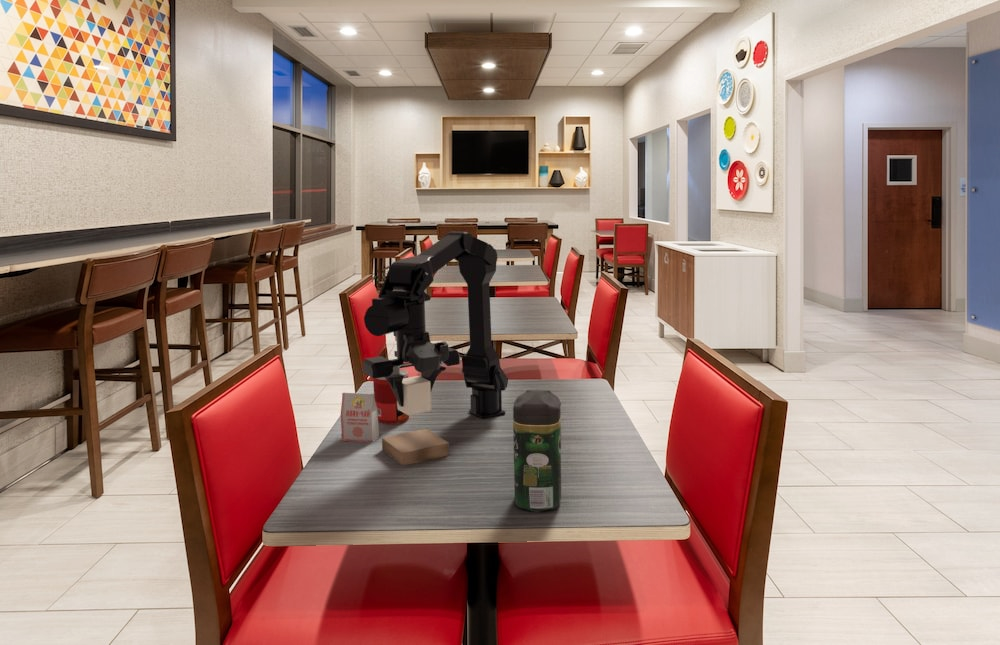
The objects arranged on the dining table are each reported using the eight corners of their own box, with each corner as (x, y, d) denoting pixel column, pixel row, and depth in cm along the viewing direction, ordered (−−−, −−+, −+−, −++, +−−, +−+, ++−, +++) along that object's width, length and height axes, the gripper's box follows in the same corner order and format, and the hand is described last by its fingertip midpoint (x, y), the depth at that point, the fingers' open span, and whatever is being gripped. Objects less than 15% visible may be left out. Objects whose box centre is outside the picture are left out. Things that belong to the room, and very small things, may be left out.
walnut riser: (427, 442, 148) (426, 428, 147) (449, 457, 140) (448, 442, 139) (382, 451, 143) (381, 437, 142) (402, 467, 135) (402, 453, 134)
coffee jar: (516, 488, 124) (515, 385, 120) (562, 489, 123) (562, 386, 119) (511, 512, 114) (509, 402, 111) (560, 514, 113) (560, 403, 110)
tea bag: (348, 435, 152) (346, 390, 150) (378, 436, 151) (376, 391, 149) (342, 441, 148) (339, 395, 146) (372, 442, 147) (370, 396, 145)
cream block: (420, 404, 143) (418, 375, 142) (431, 410, 139) (430, 381, 138) (397, 409, 140) (396, 379, 139) (408, 415, 136) (407, 385, 135)
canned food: (403, 425, 158) (401, 377, 156) (369, 423, 159) (367, 376, 157) (414, 414, 165) (412, 369, 163) (382, 413, 167) (380, 367, 164)
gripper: (382, 339, 125) (386, 423, 128) (473, 327, 135) (475, 405, 138) (359, 329, 134) (363, 408, 137) (445, 318, 144) (447, 392, 147)
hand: (413, 403), depth 139 cm, fingers closed on cream block, 5 cm apart
